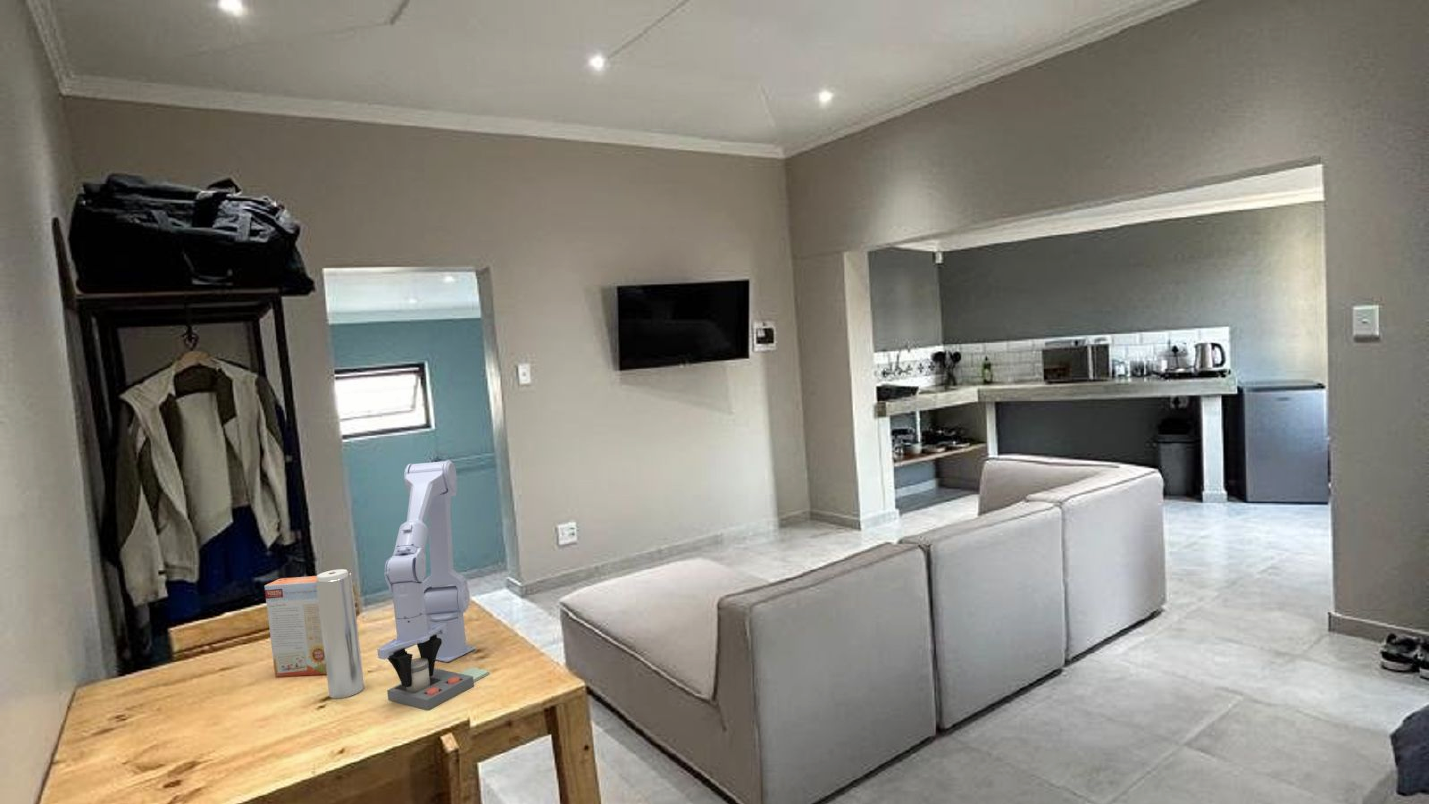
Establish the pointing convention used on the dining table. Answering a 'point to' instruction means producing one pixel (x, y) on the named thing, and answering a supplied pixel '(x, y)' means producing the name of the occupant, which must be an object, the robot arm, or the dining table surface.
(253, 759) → the dining table surface
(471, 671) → the pad
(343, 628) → the aluminum foil roll
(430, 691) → the plunger near
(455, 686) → the tray
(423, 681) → the cylinder
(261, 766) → the dining table surface
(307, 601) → the cracker box
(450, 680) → the plunger far
